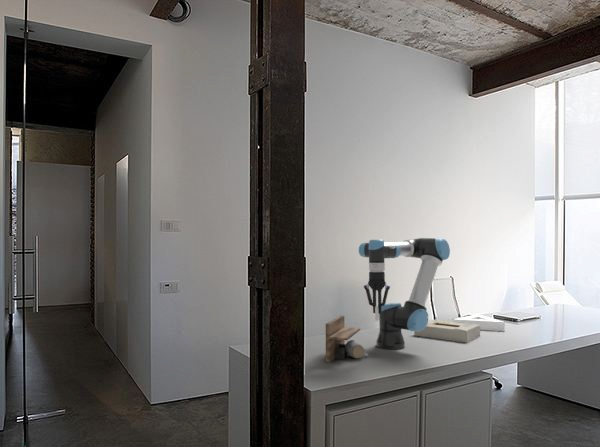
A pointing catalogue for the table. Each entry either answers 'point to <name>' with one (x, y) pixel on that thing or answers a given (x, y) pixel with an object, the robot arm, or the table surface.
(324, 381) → the table surface
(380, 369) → the table surface
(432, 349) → the table surface
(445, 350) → the table surface
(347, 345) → the ceramic mug
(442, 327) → the box
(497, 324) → the triangle block
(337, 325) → the walnut shelf
